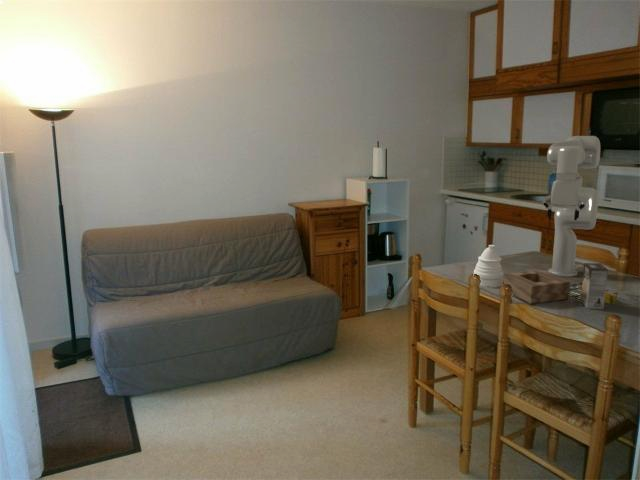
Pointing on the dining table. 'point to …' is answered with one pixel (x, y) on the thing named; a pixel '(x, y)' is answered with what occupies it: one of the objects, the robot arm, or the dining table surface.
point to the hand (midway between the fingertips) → (562, 219)
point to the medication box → (610, 297)
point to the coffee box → (594, 285)
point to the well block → (538, 287)
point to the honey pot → (489, 268)
